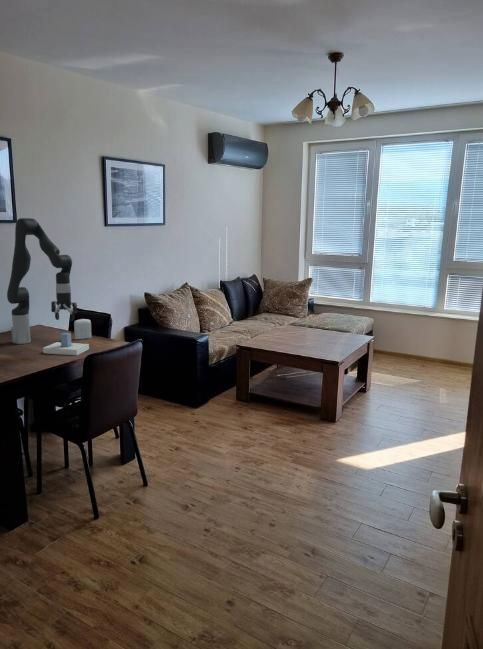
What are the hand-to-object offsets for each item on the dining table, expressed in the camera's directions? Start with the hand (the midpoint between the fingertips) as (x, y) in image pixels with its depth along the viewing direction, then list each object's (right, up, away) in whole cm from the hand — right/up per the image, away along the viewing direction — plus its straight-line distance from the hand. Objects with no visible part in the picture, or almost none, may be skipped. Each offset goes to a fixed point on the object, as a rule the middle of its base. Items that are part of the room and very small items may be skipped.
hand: (64, 320), depth 267 cm
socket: (0, -17, +4) cm, 18 cm away
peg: (0, -16, +3) cm, 17 cm away
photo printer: (-1, -11, +35) cm, 36 cm away
